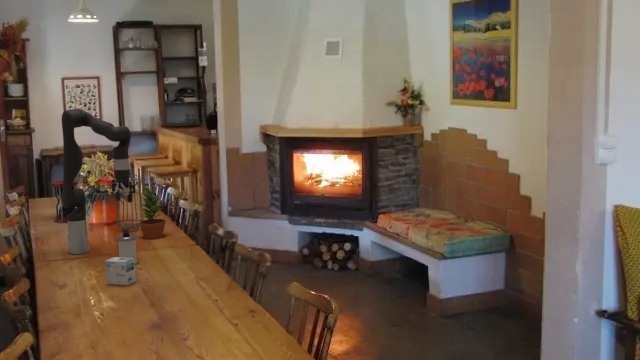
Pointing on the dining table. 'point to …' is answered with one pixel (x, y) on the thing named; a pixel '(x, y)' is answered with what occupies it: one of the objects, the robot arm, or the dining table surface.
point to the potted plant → (151, 216)
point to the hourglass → (62, 211)
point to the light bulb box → (120, 271)
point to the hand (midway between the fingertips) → (124, 201)
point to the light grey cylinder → (128, 249)
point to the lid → (126, 236)
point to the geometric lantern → (131, 204)
